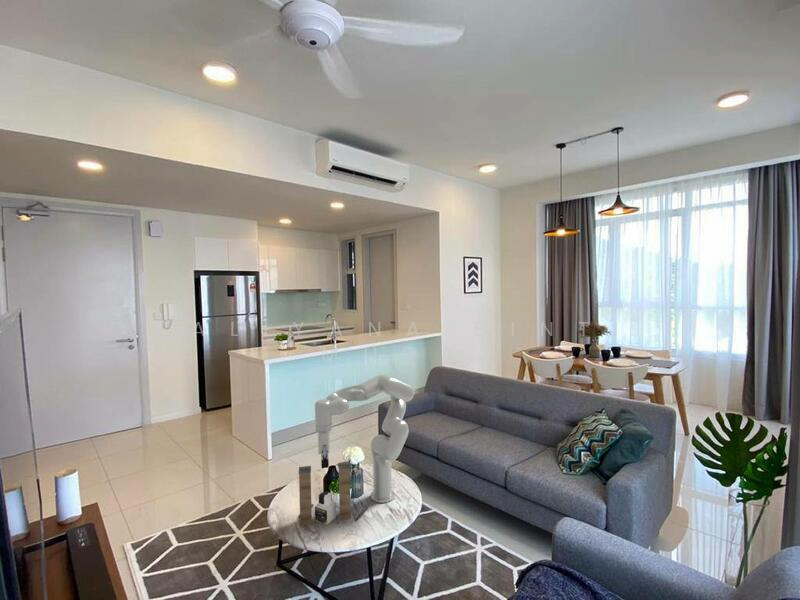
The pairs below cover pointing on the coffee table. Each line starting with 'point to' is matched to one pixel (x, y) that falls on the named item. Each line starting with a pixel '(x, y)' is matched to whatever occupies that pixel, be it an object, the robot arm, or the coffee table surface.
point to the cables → (357, 516)
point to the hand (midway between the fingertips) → (325, 462)
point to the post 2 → (344, 490)
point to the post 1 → (305, 495)
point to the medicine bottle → (325, 508)
